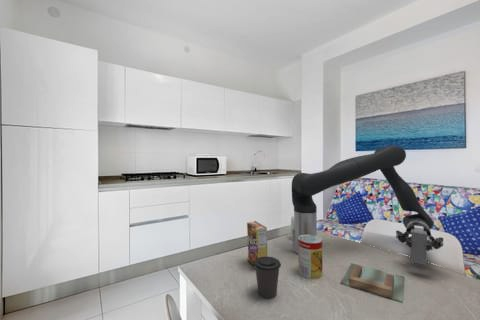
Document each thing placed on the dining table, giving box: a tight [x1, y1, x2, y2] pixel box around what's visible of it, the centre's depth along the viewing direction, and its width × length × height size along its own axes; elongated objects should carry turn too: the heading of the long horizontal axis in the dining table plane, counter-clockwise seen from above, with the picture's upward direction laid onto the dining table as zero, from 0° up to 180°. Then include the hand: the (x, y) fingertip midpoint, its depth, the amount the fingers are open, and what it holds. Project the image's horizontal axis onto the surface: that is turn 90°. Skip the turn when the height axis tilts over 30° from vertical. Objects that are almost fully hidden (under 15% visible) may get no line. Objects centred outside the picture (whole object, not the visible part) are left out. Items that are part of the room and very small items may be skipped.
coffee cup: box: [253, 256, 282, 300], centre depth 67 cm, size 8×8×10 cm
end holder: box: [339, 263, 405, 303], centre depth 73 cm, size 16×16×2 cm
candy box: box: [246, 220, 269, 266], centre depth 85 cm, size 9×4×15 cm, turn 23°
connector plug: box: [410, 225, 428, 266], centre depth 76 cm, size 4×4×12 cm
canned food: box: [298, 235, 323, 280], centre depth 79 cm, size 8×8×12 cm
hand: (419, 246), depth 74 cm, fingers closed on connector plug, 4 cm apart
